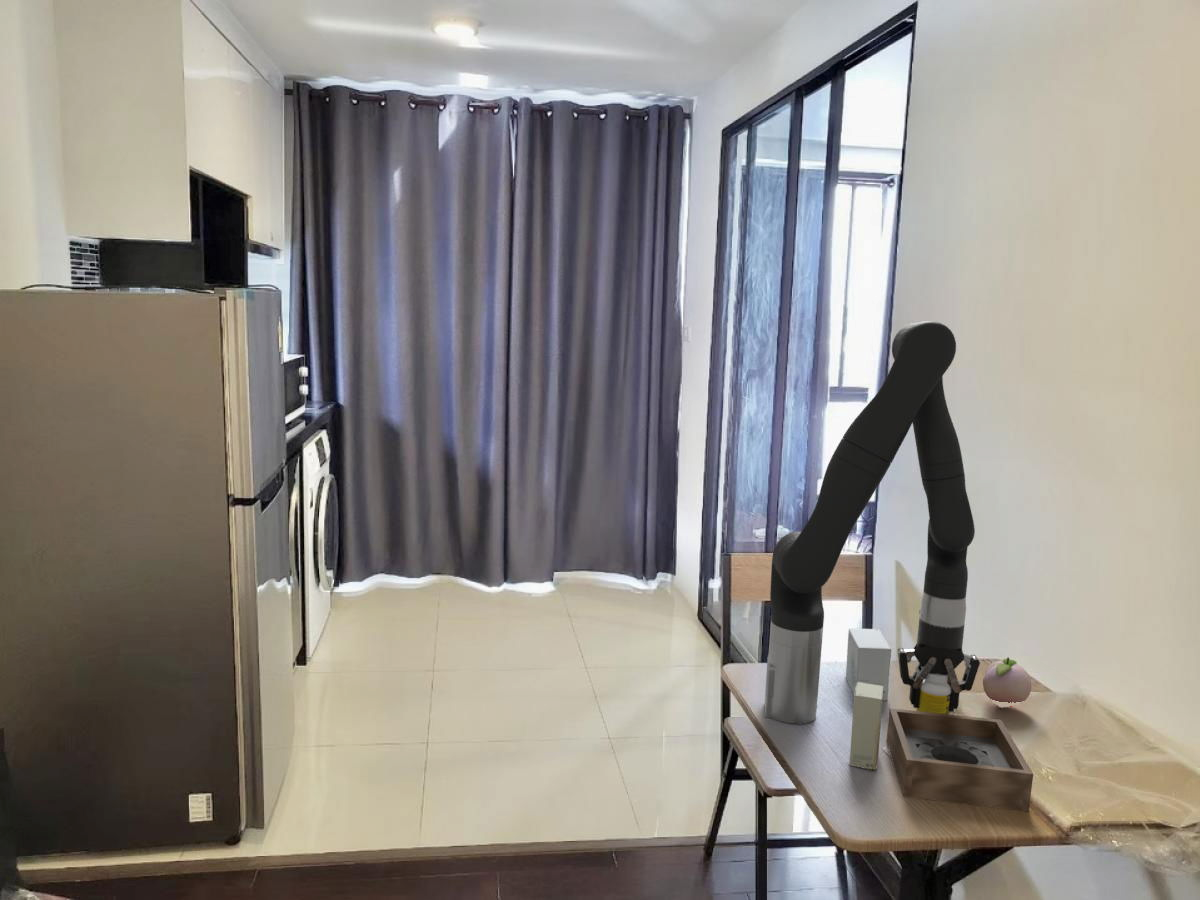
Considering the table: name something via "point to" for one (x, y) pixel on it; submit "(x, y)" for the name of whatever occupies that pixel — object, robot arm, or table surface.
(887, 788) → the table surface
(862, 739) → the skincare box
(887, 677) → the skincare box
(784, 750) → the table surface
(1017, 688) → the decorative fruit
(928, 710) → the supplement bottle
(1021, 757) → the bore box
